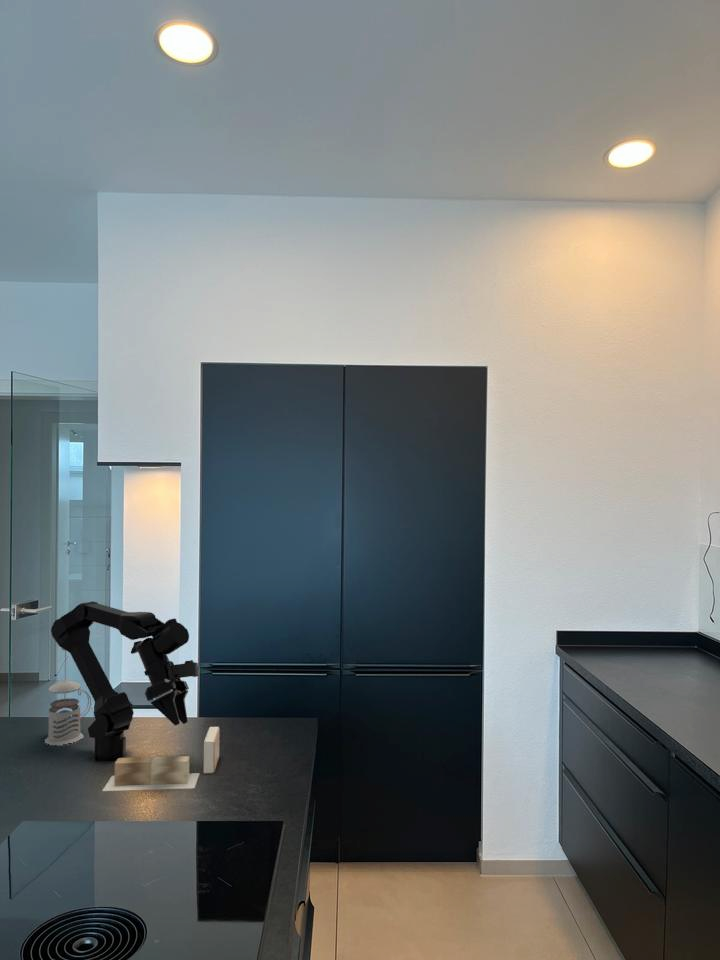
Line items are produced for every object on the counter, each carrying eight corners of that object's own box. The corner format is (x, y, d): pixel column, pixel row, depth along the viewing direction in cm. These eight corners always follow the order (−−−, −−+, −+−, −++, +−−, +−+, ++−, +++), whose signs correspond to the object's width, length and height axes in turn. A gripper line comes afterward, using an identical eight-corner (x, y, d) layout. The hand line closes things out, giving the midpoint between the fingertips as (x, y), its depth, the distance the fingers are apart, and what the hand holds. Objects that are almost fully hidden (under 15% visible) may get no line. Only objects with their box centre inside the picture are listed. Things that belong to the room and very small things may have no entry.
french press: (39, 737, 183) (40, 644, 183) (83, 728, 190) (84, 638, 191) (50, 748, 175) (51, 651, 176) (96, 738, 183) (97, 645, 183)
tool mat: (102, 793, 150) (102, 790, 150) (112, 778, 158) (112, 775, 158) (194, 790, 151) (194, 788, 151) (199, 775, 159) (199, 773, 159)
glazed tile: (203, 776, 159) (204, 741, 159) (209, 759, 169) (209, 726, 169) (214, 775, 160) (214, 741, 160) (219, 758, 169) (219, 726, 170)
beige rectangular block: (114, 785, 152) (114, 763, 152) (118, 780, 155) (118, 758, 155) (187, 783, 154) (187, 761, 154) (189, 777, 157) (189, 756, 157)
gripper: (179, 644, 155) (206, 708, 151) (194, 649, 173) (219, 706, 169) (133, 667, 153) (159, 732, 149) (153, 669, 171) (177, 728, 167)
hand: (181, 723), depth 159 cm, fingers open, 9 cm apart
